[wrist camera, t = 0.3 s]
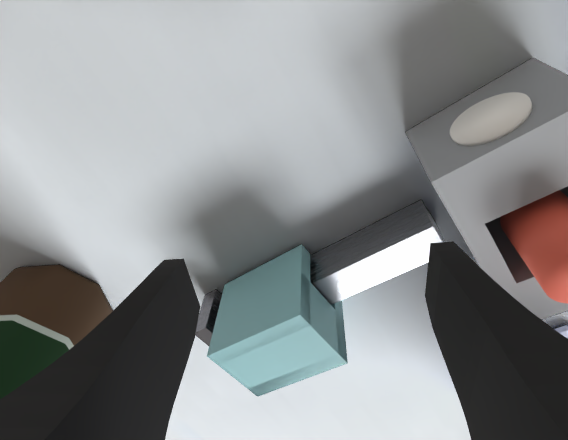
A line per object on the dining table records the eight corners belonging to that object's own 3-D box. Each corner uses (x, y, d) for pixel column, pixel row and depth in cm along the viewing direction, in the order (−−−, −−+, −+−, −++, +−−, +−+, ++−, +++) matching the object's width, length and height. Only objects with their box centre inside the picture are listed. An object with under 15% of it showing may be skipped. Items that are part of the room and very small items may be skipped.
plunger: (576, 221, 18) (637, 285, 14) (511, 248, 19) (555, 313, 15) (558, 175, 16) (620, 233, 13) (491, 207, 17) (533, 268, 14)
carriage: (340, 289, 25) (347, 363, 21) (265, 323, 27) (257, 396, 23) (301, 244, 23) (300, 314, 19) (224, 284, 25) (206, 356, 21)
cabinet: (589, 216, 22) (655, 280, 17) (479, 262, 24) (515, 328, 20) (531, 53, 17) (602, 88, 13) (403, 128, 19) (428, 178, 15)
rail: (443, 236, 23) (460, 274, 20) (242, 328, 28) (235, 368, 26) (413, 186, 21) (427, 220, 18) (204, 295, 27) (193, 333, 24)
